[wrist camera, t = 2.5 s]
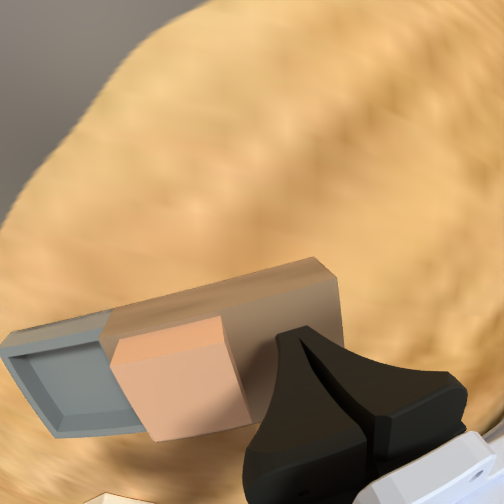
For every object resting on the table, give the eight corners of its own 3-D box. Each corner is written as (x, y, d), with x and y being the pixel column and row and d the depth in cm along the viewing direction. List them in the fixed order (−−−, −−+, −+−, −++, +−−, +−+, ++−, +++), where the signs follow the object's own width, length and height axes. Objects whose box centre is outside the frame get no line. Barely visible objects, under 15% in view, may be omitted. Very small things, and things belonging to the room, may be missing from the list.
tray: (160, 406, 17) (158, 429, 16) (62, 418, 17) (55, 438, 15) (113, 308, 15) (103, 327, 13) (11, 332, 15) (-4, 349, 13)
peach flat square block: (245, 394, 14) (252, 423, 12) (157, 412, 14) (154, 441, 12) (220, 315, 13) (224, 341, 11) (119, 339, 13) (109, 366, 11)
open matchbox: (328, 364, 18) (347, 394, 15) (160, 406, 17) (157, 442, 15) (313, 256, 16) (336, 277, 13) (113, 308, 15) (98, 338, 12)
